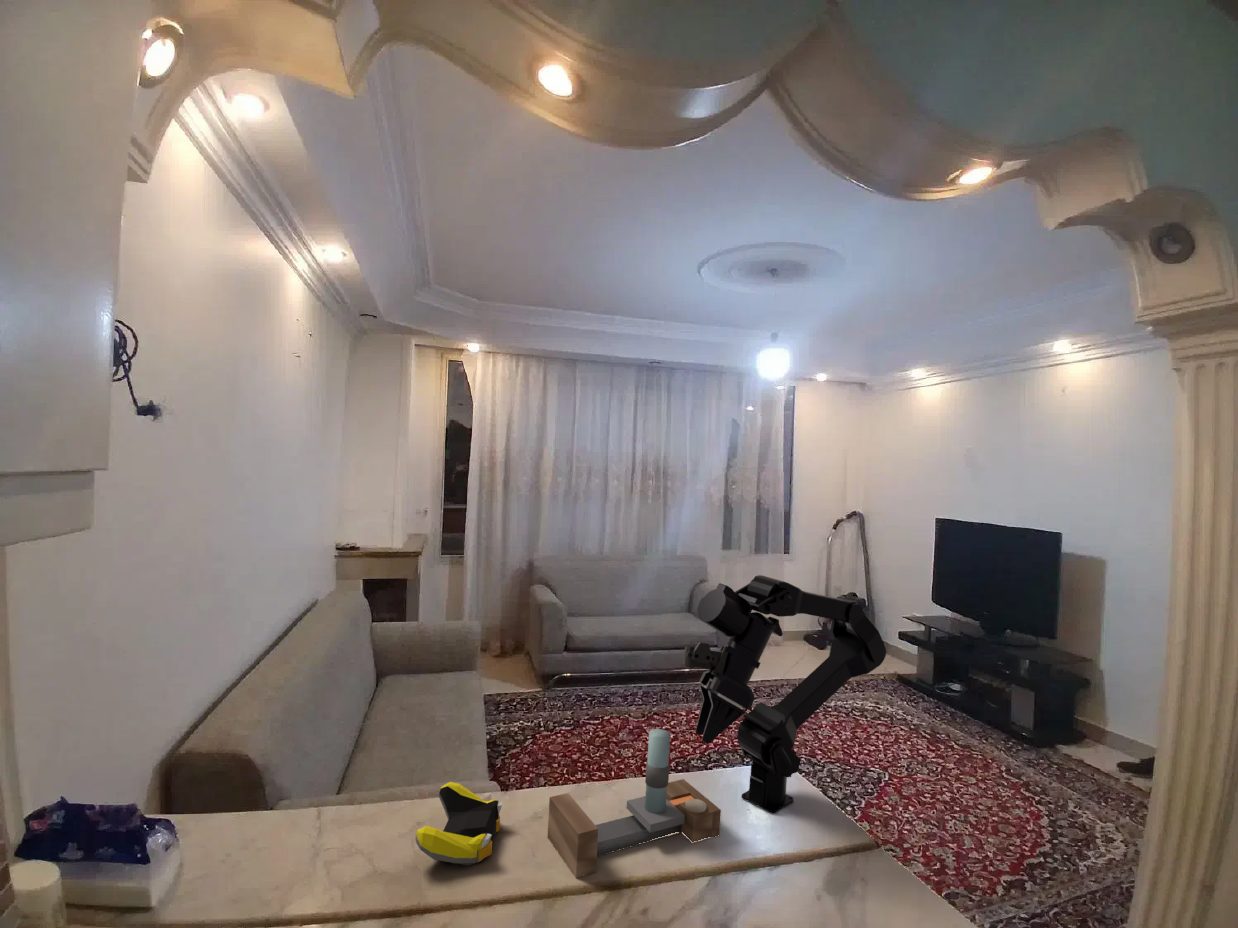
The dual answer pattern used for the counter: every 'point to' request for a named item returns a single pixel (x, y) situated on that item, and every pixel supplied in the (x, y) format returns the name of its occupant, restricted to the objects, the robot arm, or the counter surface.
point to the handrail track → (626, 834)
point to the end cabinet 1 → (573, 834)
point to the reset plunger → (680, 801)
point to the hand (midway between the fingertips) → (701, 737)
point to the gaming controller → (462, 827)
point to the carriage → (656, 788)
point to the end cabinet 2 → (695, 811)
